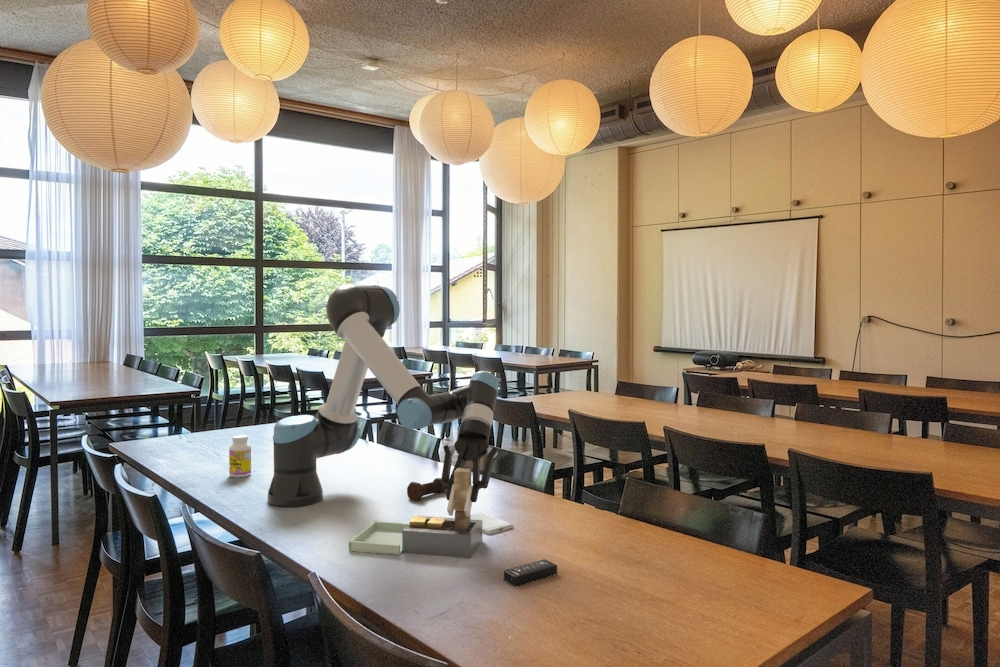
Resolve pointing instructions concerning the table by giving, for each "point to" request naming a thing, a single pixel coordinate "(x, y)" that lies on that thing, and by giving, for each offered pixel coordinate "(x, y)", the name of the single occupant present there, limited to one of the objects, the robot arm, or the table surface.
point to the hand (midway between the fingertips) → (458, 513)
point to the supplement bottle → (240, 457)
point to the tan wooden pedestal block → (461, 496)
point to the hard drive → (491, 523)
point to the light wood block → (418, 522)
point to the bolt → (425, 489)
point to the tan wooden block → (437, 524)
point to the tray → (379, 538)
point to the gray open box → (443, 539)
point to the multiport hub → (530, 572)
